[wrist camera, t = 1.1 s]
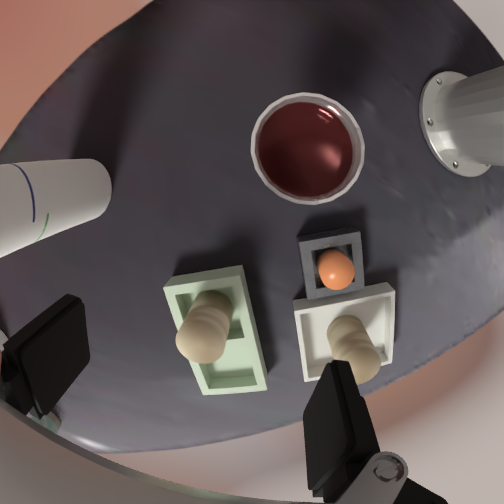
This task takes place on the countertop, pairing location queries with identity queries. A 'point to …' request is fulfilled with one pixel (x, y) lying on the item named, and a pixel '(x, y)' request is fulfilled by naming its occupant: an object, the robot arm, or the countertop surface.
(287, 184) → the wineglass
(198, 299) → the cylinder
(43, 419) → the coffee cup
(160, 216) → the countertop surface
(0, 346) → the white cup
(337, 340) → the cylinder
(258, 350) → the pale green flat tray
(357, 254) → the button housing
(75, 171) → the cylindrical container
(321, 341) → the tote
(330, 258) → the button
